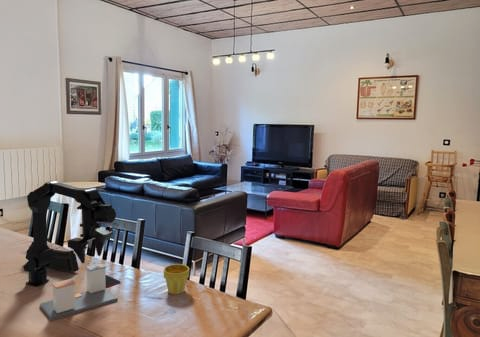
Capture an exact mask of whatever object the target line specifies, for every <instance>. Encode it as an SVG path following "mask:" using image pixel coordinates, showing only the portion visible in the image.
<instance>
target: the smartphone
mask: <svg viewBox="0 0 480 337" xmlns="http://www.w3.org/2000/svg"><path fill="white" fill-rule="evenodd" d="M105 280H106V289H107V288H110V287H113V286H115V285H116V286H117V285H119V284H120V283H121V281H120V280H118V279H116V278H114V277H111V276H109V275H107V274H105Z"/></svg>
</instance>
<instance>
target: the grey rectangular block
mask: <svg viewBox="0 0 480 337" xmlns="http://www.w3.org/2000/svg"><path fill="white" fill-rule="evenodd" d="M85 269H86V291H89V292H90V293H94V292H97V291H101V290H105V289H107V288H106V280H105V275H106V269H107V266H106V265H105V264H103V263H96V264H93V265H88V266H86V267H85Z"/></svg>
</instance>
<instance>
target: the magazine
mask: <svg viewBox="0 0 480 337" xmlns="http://www.w3.org/2000/svg"><path fill="white" fill-rule="evenodd" d="M33 246H34V243H33V241H31V243H30V245H29V247H28V248H27V250H26V253H25V259H26V260H27V261H29V255H30V252H31V250H32V248H33ZM52 249H53V253H52V254H53V258H52V261H51V262H50V265H49V266H47V267H45V268H46V270H47V269H49V270H52V271H57V272H58V271H59V272H67V273H68V272H69V273H71V272H72V273H76V272H78V271H80V268H79V262H78V259H77V258H78V257H77V254H76V253H75V252H74V250H73V249H71V250H60V249H54V248H52Z"/></svg>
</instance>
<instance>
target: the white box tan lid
mask: <svg viewBox="0 0 480 337" xmlns="http://www.w3.org/2000/svg"><path fill="white" fill-rule="evenodd" d="M51 284H52V295H53V296H52V300H53V309H54V310H55V311H56V313H60V312H64V311H67V310H70V309H74V308H75V294H76V293H75V292H76V290H75V287H76V286H75V285H76V282H75V281H74V280H73V279H72V278H69V279H64V280H61V281H57V282H52V283H51Z"/></svg>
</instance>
